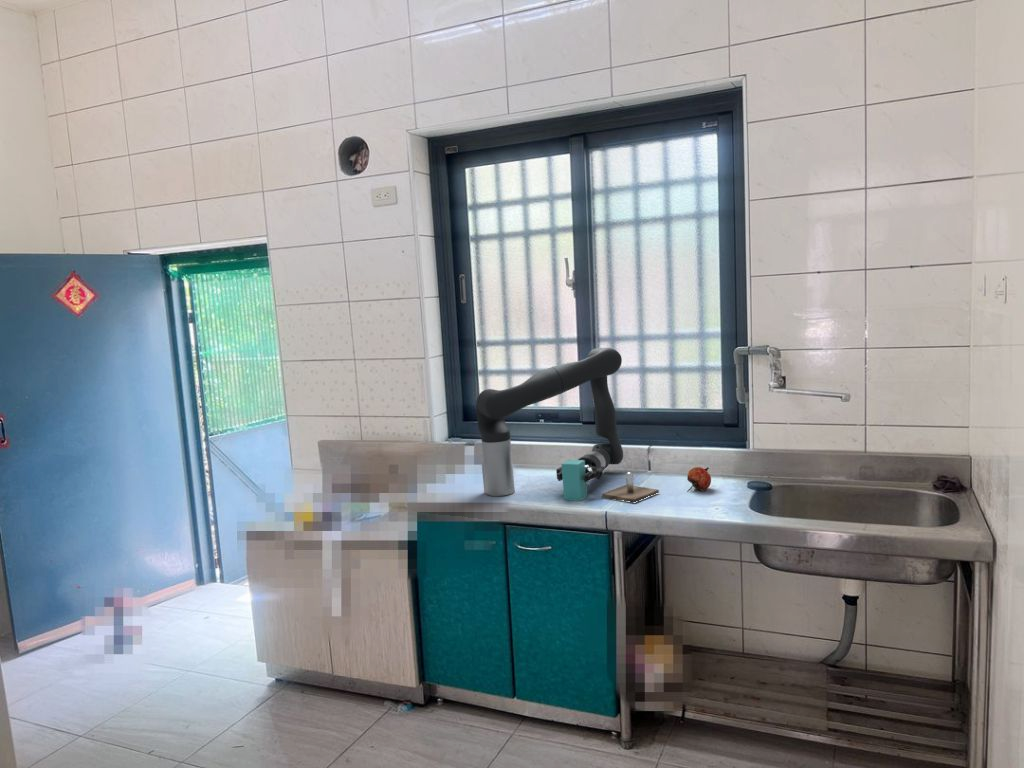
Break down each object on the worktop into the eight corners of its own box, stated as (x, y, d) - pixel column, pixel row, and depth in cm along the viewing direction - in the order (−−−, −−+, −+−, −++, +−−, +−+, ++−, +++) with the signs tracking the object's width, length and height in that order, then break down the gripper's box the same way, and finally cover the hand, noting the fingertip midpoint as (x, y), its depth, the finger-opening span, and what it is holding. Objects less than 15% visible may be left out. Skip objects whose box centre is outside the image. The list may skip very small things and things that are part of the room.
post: (625, 492, 218) (624, 472, 217) (629, 490, 219) (628, 471, 218) (630, 493, 216) (629, 473, 215) (634, 491, 217) (633, 471, 217)
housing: (564, 499, 219) (561, 463, 218) (570, 494, 224) (568, 459, 223) (580, 500, 217) (578, 464, 215) (587, 495, 221) (584, 460, 220)
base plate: (602, 497, 218) (601, 493, 218) (626, 488, 226) (626, 484, 226) (634, 503, 209) (634, 499, 209) (658, 493, 217) (658, 489, 217)
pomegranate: (699, 502, 213) (722, 478, 214) (683, 484, 213) (706, 460, 214) (689, 498, 221) (712, 475, 222) (673, 480, 220) (696, 458, 221)
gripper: (569, 453, 235) (549, 465, 221) (611, 454, 229) (593, 466, 214) (570, 476, 236) (551, 489, 221) (612, 477, 229) (595, 491, 215)
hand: (571, 478), depth 218 cm, fingers open, 8 cm apart
